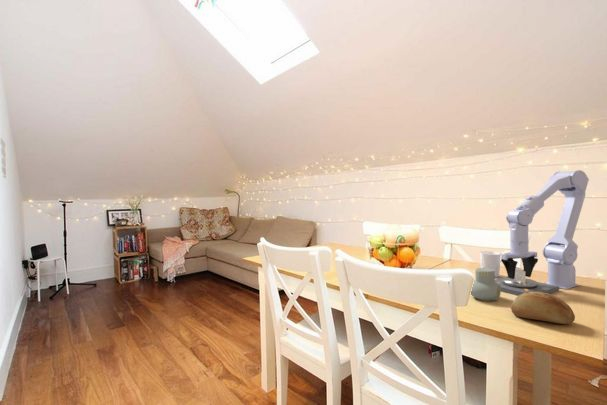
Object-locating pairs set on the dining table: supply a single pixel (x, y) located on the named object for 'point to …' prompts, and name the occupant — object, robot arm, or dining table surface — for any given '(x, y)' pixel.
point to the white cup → (490, 261)
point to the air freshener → (485, 285)
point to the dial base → (518, 291)
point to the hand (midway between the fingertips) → (519, 277)
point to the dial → (519, 280)
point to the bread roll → (542, 308)
